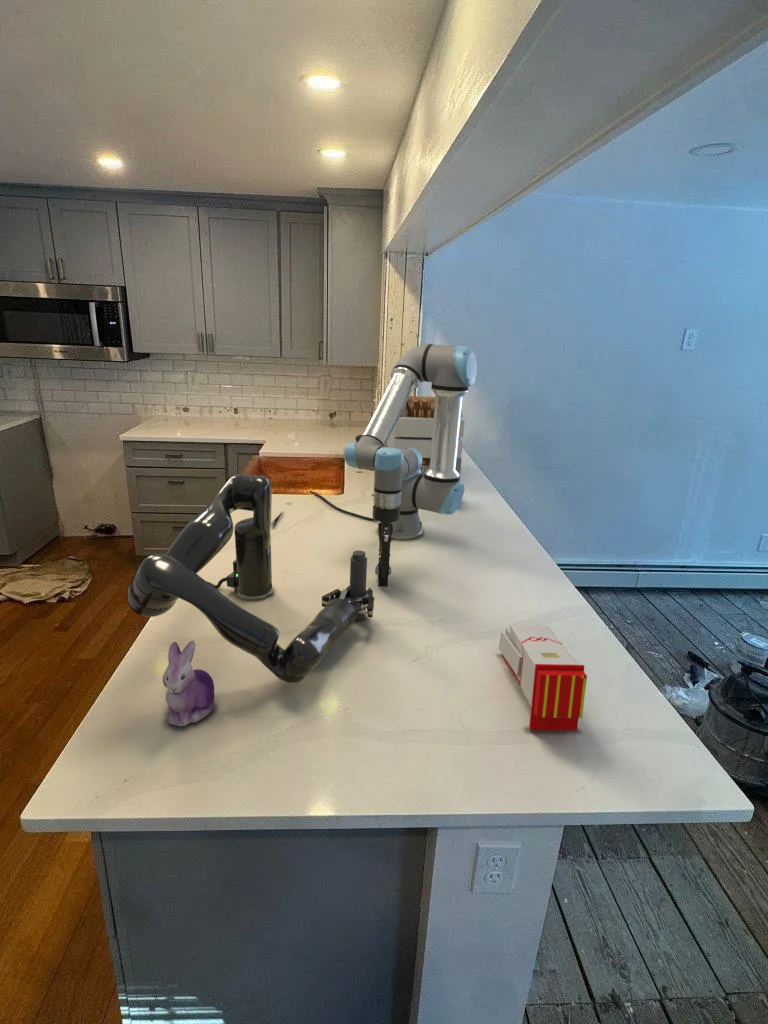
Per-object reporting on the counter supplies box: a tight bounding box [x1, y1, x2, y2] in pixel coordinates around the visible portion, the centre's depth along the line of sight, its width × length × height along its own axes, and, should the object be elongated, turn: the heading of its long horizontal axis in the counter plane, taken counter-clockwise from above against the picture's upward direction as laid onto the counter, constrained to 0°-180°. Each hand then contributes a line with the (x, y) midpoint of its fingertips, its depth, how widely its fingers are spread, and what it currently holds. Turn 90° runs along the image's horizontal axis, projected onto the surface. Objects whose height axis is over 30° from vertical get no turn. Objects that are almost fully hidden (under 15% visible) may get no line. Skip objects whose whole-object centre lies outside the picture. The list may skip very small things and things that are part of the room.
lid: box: [374, 565, 392, 577], centre depth 161 cm, size 5×5×2 cm
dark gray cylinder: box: [349, 549, 368, 622], centre depth 142 cm, size 4×4×18 cm
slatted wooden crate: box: [385, 395, 465, 481], centre depth 268 cm, size 34×33×41 cm
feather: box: [271, 512, 283, 529], centre depth 212 cm, size 2×28×2 cm
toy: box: [498, 624, 588, 732], centre depth 119 cm, size 12×13×30 cm
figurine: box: [161, 640, 215, 727], centre depth 107 cm, size 9×10×15 cm
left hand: (361, 589), depth 146 cm, fingers closed on dark gray cylinder, 4 cm apart
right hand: (382, 582), depth 163 cm, fingers closed on lid, 4 cm apart
